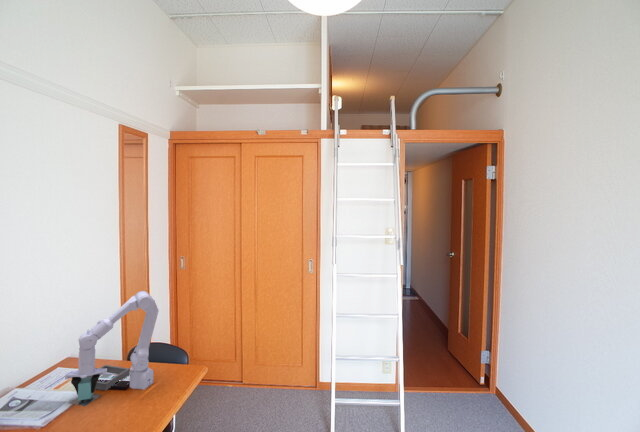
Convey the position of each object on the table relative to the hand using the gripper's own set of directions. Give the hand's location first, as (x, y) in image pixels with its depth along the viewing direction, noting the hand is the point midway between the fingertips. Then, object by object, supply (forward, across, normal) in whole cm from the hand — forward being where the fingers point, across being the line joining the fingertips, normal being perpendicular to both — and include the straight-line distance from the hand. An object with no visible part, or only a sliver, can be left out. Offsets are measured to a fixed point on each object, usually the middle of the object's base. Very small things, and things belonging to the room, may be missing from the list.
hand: (86, 392), depth 135 cm
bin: (+4, +4, +14) cm, 15 cm away
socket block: (+2, 0, 0) cm, 2 cm away
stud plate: (+4, 0, 0) cm, 4 cm away
